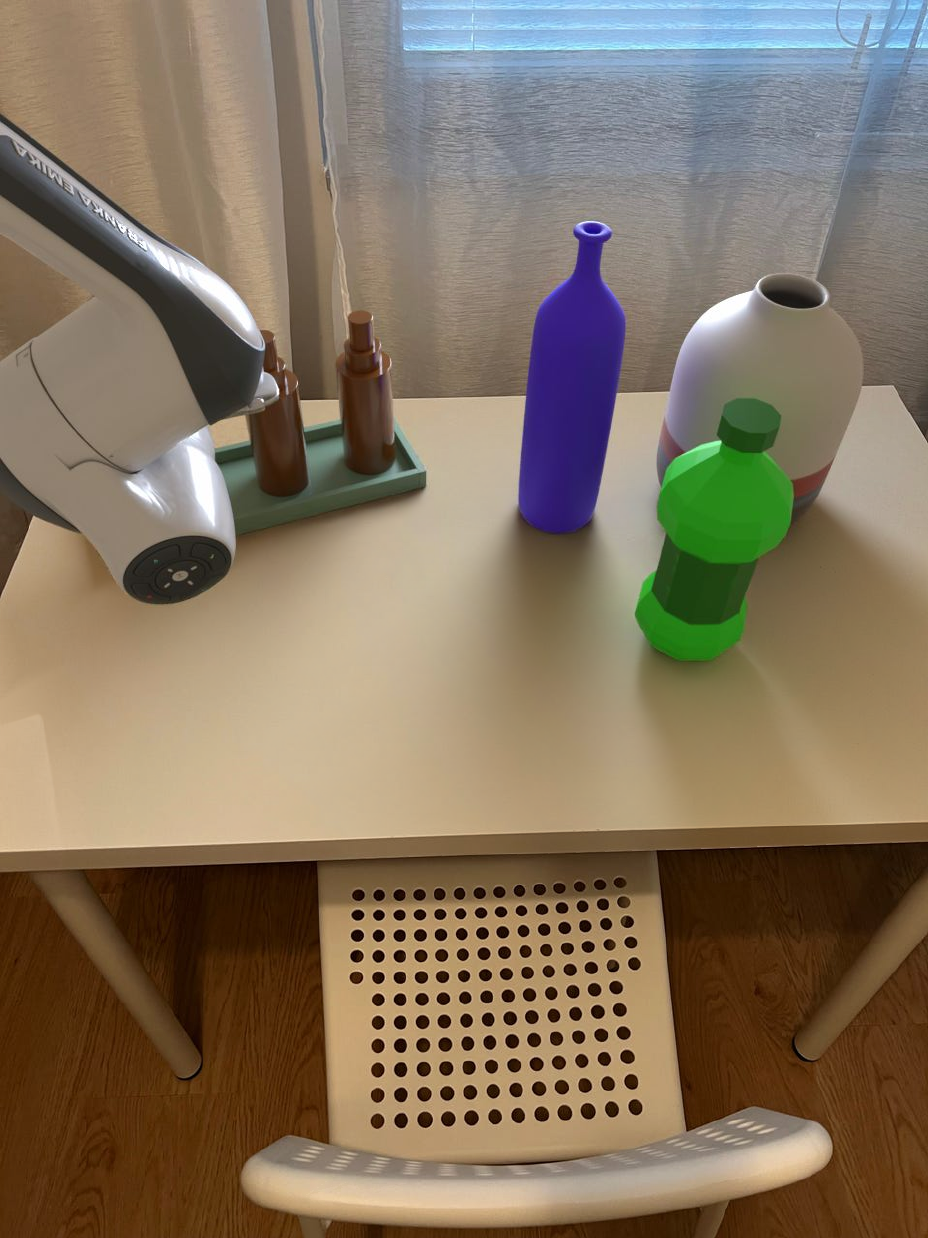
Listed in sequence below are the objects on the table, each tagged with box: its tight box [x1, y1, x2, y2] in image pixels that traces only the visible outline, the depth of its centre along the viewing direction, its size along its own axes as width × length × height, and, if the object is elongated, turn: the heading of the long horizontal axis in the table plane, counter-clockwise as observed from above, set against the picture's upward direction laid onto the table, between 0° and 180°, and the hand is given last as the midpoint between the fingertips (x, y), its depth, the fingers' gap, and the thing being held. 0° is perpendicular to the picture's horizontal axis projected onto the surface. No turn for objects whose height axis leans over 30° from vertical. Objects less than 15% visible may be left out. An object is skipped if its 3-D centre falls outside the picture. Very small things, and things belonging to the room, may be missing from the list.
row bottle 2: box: [334, 309, 395, 475], centre depth 95 cm, size 6×6×17 cm
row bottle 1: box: [244, 329, 310, 497], centre depth 92 cm, size 6×6×17 cm
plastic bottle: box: [634, 398, 794, 662], centre depth 77 cm, size 10×10×25 cm
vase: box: [655, 272, 864, 527], centre depth 90 cm, size 17×17×24 cm
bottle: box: [517, 220, 627, 534], centre depth 86 cm, size 8×8×30 cm
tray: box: [214, 417, 427, 537], centre depth 98 cm, size 32×12×2 cm, turn 113°
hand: (125, 333), depth 78 cm, fingers closed on amber bottle, 5 cm apart
